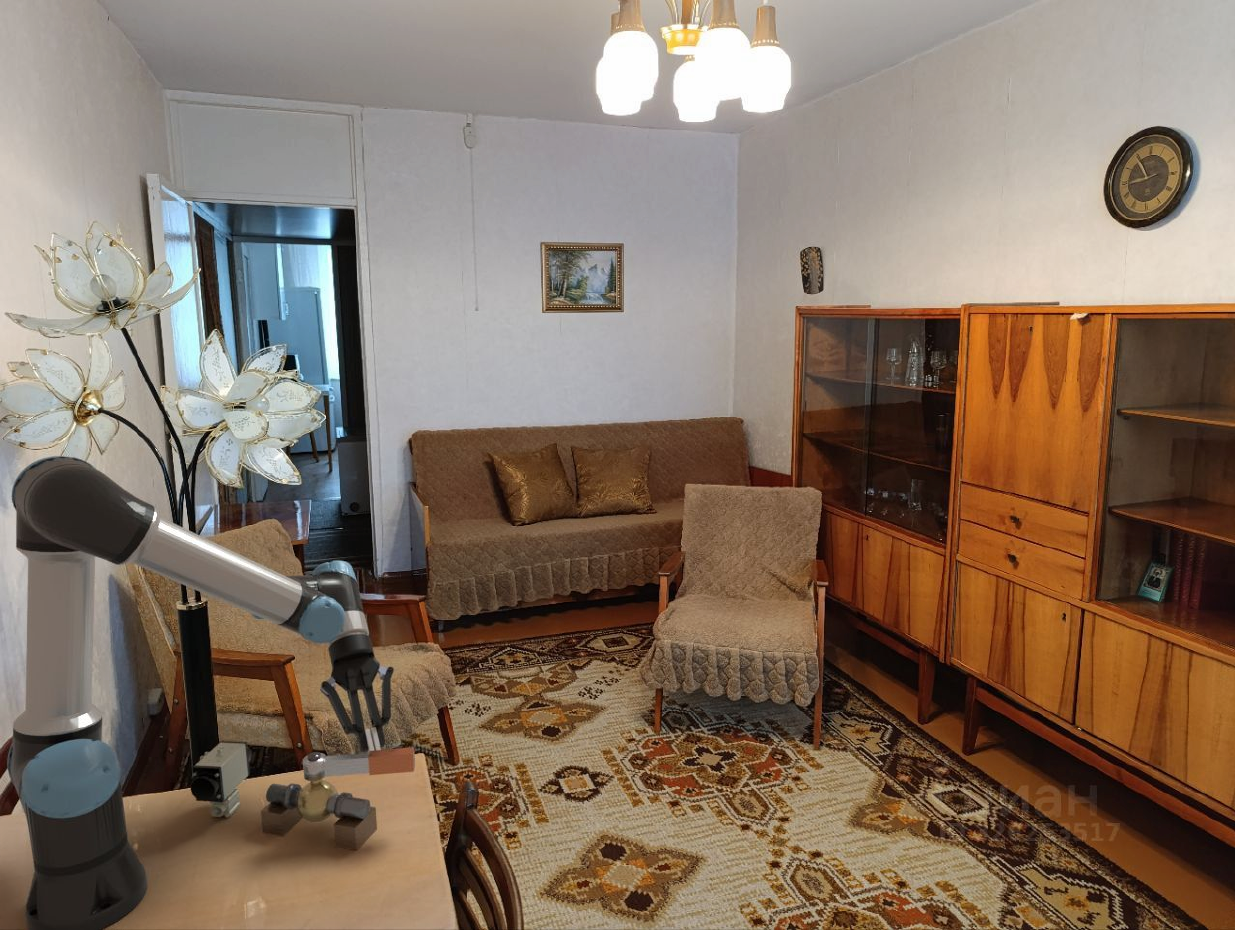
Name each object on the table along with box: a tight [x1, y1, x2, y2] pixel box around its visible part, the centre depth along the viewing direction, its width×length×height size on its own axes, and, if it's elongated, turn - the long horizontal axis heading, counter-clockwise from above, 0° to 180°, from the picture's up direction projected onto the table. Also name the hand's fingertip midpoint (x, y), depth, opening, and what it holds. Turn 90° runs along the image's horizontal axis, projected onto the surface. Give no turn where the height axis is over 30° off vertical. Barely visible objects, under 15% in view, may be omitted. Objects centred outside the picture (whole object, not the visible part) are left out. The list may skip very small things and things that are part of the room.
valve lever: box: [302, 746, 416, 782], centre depth 141 cm, size 18×4×4 cm, turn 98°
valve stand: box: [260, 778, 378, 852], centre depth 142 cm, size 18×7×10 cm, turn 74°
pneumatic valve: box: [190, 740, 253, 818], centre depth 147 cm, size 6×12×12 cm, turn 174°
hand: (377, 767), depth 145 cm, fingers closed
